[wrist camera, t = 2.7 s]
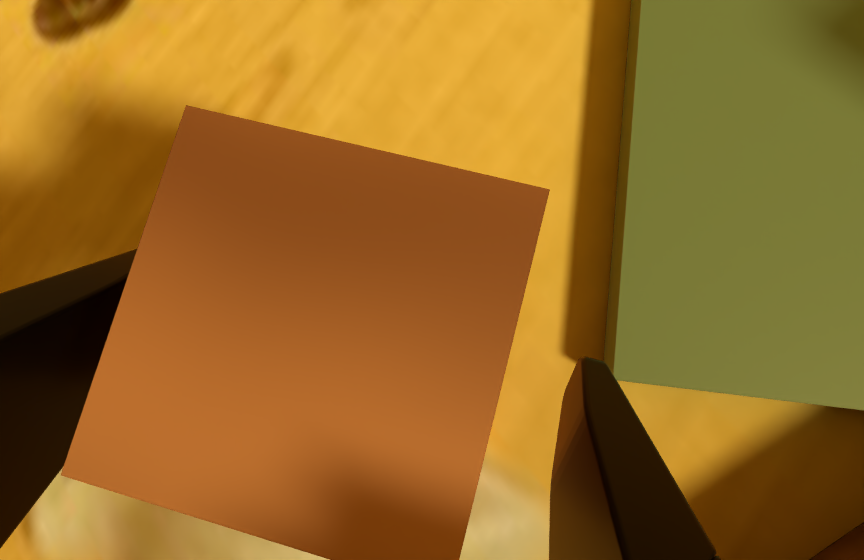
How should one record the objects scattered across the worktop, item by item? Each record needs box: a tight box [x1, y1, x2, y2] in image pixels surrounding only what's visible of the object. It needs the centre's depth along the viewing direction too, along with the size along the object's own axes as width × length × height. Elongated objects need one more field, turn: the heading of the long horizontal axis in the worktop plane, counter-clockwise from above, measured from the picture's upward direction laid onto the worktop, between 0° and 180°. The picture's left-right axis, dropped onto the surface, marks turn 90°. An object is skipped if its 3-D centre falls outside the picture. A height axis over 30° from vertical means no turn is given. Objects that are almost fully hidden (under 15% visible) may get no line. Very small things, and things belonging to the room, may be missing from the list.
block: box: [61, 105, 550, 560], centre depth 11 cm, size 4×4×10 cm
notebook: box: [603, 0, 864, 410], centre depth 15 cm, size 12×9×1 cm
